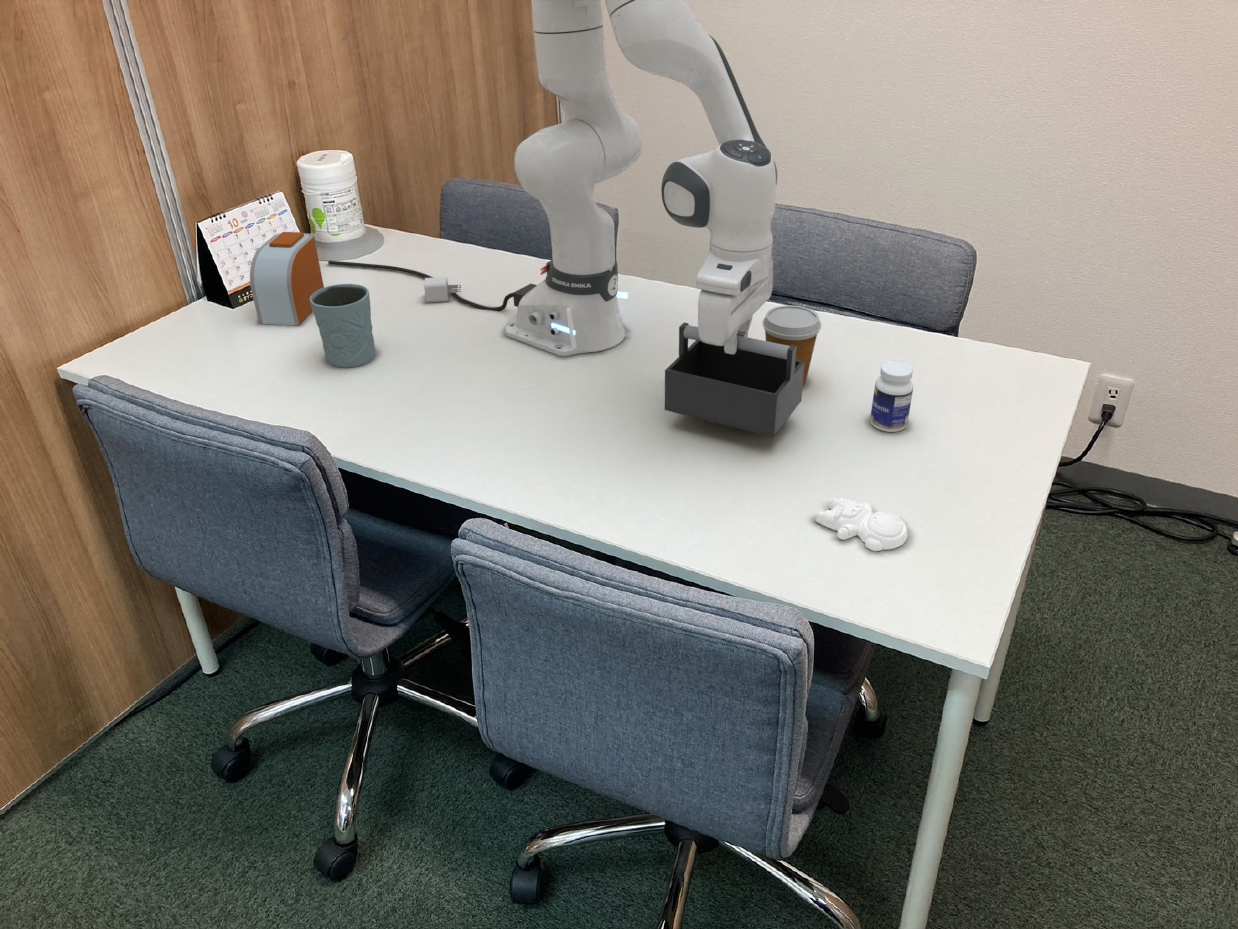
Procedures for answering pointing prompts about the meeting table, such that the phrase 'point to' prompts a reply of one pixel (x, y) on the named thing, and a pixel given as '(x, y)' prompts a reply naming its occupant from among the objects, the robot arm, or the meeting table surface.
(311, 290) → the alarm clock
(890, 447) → the meeting table surface
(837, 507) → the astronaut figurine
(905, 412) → the pill bottle
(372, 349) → the green embossed cup
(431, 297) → the usb wall charger
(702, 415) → the black bin
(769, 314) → the disposable coffee cup
